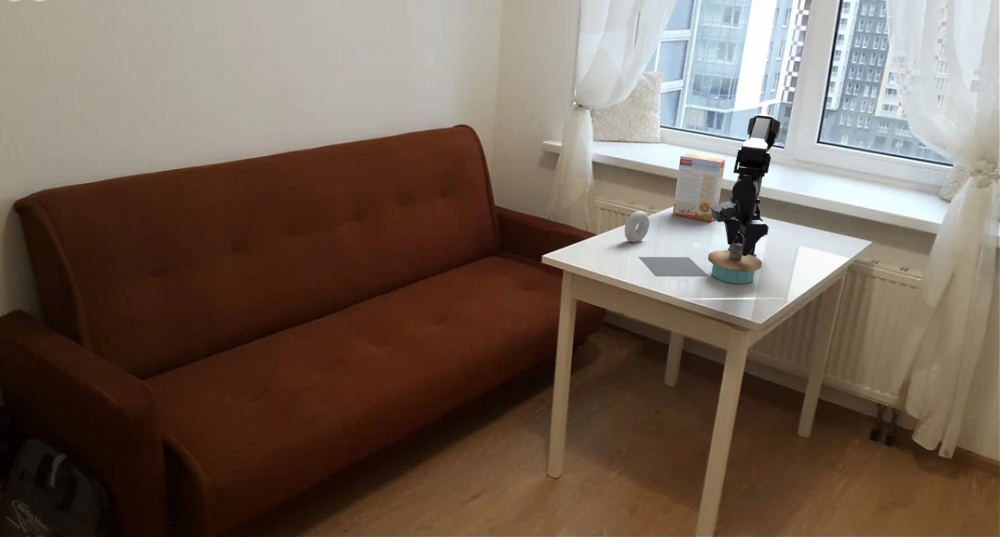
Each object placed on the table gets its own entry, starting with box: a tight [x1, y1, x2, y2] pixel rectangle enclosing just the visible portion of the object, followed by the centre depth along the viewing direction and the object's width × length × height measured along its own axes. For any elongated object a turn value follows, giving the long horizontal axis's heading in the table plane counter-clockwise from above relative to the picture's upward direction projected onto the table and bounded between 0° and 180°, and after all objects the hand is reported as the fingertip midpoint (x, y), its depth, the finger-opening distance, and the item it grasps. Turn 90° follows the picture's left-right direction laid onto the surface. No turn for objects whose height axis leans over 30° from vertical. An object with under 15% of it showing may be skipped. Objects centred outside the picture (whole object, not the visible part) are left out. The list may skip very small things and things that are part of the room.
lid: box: [707, 243, 763, 271], centre depth 204 cm, size 14×14×5 cm
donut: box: [624, 210, 650, 243], centre depth 230 cm, size 10×4×10 cm, turn 133°
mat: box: [638, 256, 709, 277], centre depth 212 cm, size 15×15×1 cm
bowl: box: [711, 264, 756, 285], centre depth 206 cm, size 11×11×5 cm
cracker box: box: [672, 153, 726, 223], centre depth 258 cm, size 14×6×21 cm, turn 58°
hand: (736, 249), depth 204 cm, fingers open, 9 cm apart
